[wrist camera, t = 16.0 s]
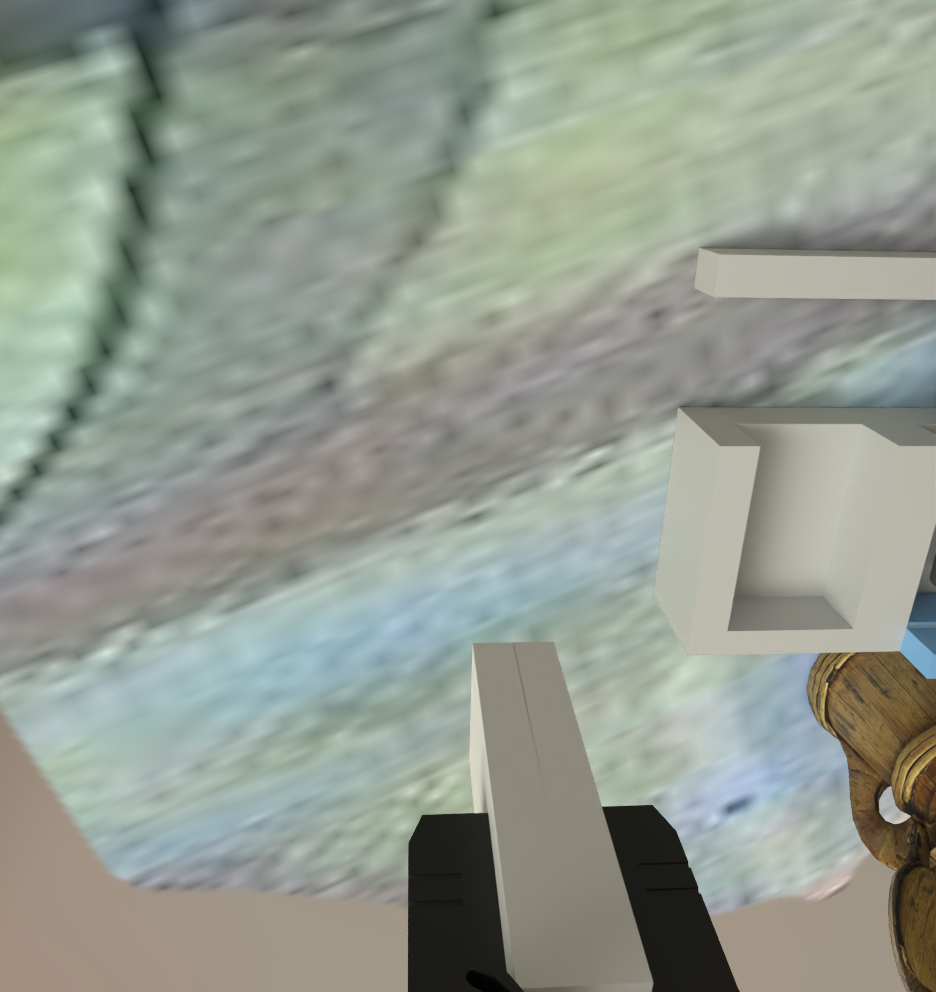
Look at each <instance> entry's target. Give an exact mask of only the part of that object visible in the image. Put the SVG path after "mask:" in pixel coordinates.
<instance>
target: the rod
mask: <svg viewBox="0 0 936 992" xmlns="http://www.w3.org/2000/svg"><path fill="white" fill-rule="evenodd" d="M930 581H931V582H932V584H933V585H934V586H936V555H935V559H934V562H933V566H932V570H931V573H930Z"/></svg>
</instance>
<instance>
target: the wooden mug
mask: <svg viewBox="0 0 936 992" xmlns="http://www.w3.org/2000/svg"><path fill="white" fill-rule="evenodd" d="M807 693H808V699H809V704H810V706H811V709H812V711H813V713H814V716H815V718H816V720H817V721H818V723H819V724H820V725H821V726H822V727H823V728H824V729H825V730H827V731H828V732H829V733H830V734H831V735H833V736H834V737H835V738H837V739H838V740H839V741H840V743H841V746H842V748H843V750H844V752H845V754H846V757H847V762H848V769H849V783H850V800H851V808H852V815H853V820H854V823H855V825H856V828H857V830H858V833H859V836H860V838H861V840H862V842H863V843H864V844H865V846H866V847H867V848H868V850H869V851H870V852H871V853H872V855H873V856H874V857H875V858H876V859H877V860H879V861H880V862H882V863H883V864H885V865H886V866H888V867H889V868H891V869H893V870H895V871H896V872H895V874H894V875H893V877H892V881H891V886H890V892H889V905H888V915H889V930H890V937H891V943H892V948H893V953H894V958H895V962H896V965H897V968H898V972H899V975H900V977H901V980H902V982H903V984H904V986H905V989H906V991H907V992H936V679H927V678H926V677H925V676H924V675H923V674H922V673H921V672H920V671H919V670H918V669H917V668H916V667H915V666H914V665H913V664H912V663H911V662H910V661H909V660H908V659H907V658H906V657H905V656H904V655H903V654H902V653H901V652H900V651H892V652H841V653H821V655H820V656H819V658H818V659H817V661H816V662H815V664H814V666H813V667H812V669H811V671H810V675H809V679H808V684H807ZM890 786H891V787H892V792H893V796H894V800H895V804H896V806H897V807H898V808H899V810H900V811H902V812H904V813H907V814H908V815H910V816H911V817H910V818H909V819H907V820H906V821H904V822H902V823H900V824H892V823H890V822H887V821H885V820H884V819H883V817H882V816H881V815H880V813H879V799H880V797H881V795H882V793H883V791H884V790H885V789H886V788H887V787H890Z"/></svg>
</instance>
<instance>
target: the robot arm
mask: <svg viewBox="0 0 936 992" xmlns="http://www.w3.org/2000/svg"><path fill="white" fill-rule="evenodd" d="M469 761H470V771H471V782H472V792H473V802H474V813H466V814H437V815H422V817H421V819H420V821H419V823H418V825H417V827H416V829H415V831H414V833H413V835H412V837H411V839H410V841H409V856H408V992H740V991H739V989H738V988H737V985H736V982H735V980H734V977H733V975H732V972H731V969H730V967H729V964H728V962H727V959H726V957H725V954H724V952H723V949H722V947H721V944H720V941H719V939H718V936H717V934H716V931H715V929H714V926H713V924H712V921H711V919H710V916H709V913H708V911H707V908H706V906H705V903H704V901H703V898H702V896H701V894H699V892H698V885H697V883H696V880H695V878H694V875H693V873H692V870H691V868H689V866H688V860H687V857H686V855H685V852H684V850H683V847H682V845H681V842H680V840H679V837H678V835H677V832H676V830H675V829H674V828H673V827H672V826H671V825H670V824H669V823H668V822H667V820H666V819H665V818H664V817H663V816H662V815H661V814H660V813H659V812H658V811H657V810H656V808H655V807H654V806H653V805H640V806H610V807H602V806H601V802H600V799H599V795H598V792H597V789H596V785H595V782H594V778H593V775H592V772H591V768H590V765H589V761H588V758H587V754H586V751H585V748H584V744H583V741H582V737H581V734H580V731H579V727H578V724H577V720H576V717H575V714H574V710H573V707H572V703H571V700H570V697H569V693H568V690H567V686H566V683H565V680H564V676H563V673H562V669H561V666H560V662H559V659H558V656H557V652H556V649H555V645H554V642H515V643H473V651H472V686H471V722H470V758H469Z"/></svg>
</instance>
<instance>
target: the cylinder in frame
mask: <svg viewBox="0 0 936 992" xmlns="http://www.w3.org/2000/svg"><path fill="white" fill-rule="evenodd" d="M694 288H696V289H698V290H700V291H702V292H704V293H706V294H709V295H711V296H713V297H750V298H828V299H907V300H936V252H902V251H843V250H785V249H726V248H699V253H698V261H697V268H696V276H695V284H694ZM935 555H936V408H817V407H678V412H677V420H676V427H675V435H674V442H673V450H672V458H671V465H670V473H669V480H668V488H667V495H666V503H665V511H664V518H663V526H662V533H661V541H660V548H659V556H658V564H657V571H656V579H655V586H654V594H653V595H654V597H655V598H656V600H657V602H658V604H659V606H660V607H661V609H662V611H663V613H664V615H665V616H666V618H667V620H668V622H669V624H670V625H671V627H672V629H673V631H674V633H675V634H676V636H677V638H678V640H679V642H680V643H681V645H682V647H683V649H684V651H685V652H686V654H687V656H689V655H740V654H791V653H841V652H892V651H900V652H901V653H902V654H903V655H904V656H905V657H906V658H907V659H908V660H909V661H910V662H911V663H912V664H913V665H914V666H915V667H916V668H917V669H918V670H919V671H920V672H921V673H922V674H923V675H924V676H925V677H926V678H927V679H936V586H934V585H933V584H932V582H931V581H930V573H931V570H932V566H933V562H934V559H935Z"/></svg>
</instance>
